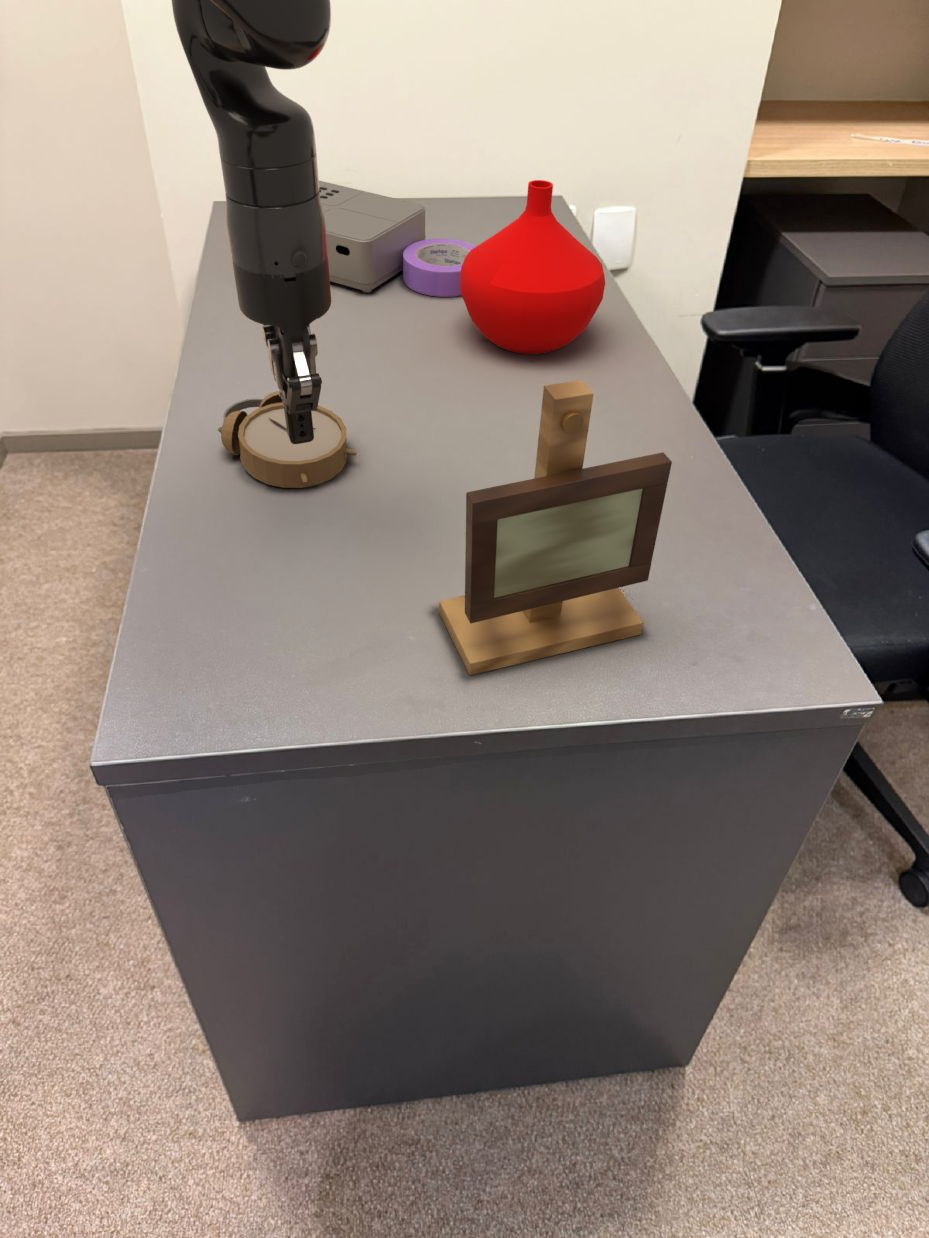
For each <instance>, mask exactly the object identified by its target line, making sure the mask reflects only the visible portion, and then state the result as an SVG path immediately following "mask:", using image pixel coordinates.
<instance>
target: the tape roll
mask: <svg viewBox="0 0 929 1238" xmlns="http://www.w3.org/2000/svg"><path fill="white" fill-rule="evenodd" d="M476 246H477V245H475V244H472V243H470V242H467V241H464V240H461V239H453V238H429V239H428V238H427V239H425V240H422V241H418V242H415V243H413V244H411V245H409V246H408V247H407V248H406V249H405V250H404V252H403V270H402V279H403V283H404V284H405V286H406V287H408V288H409V289H410V290H412V291H413V292H414V291H415V292H416V293H418V294H422V295H425V296H430V297H437V298H455V297H462V294H461V292H460V273H461V267H462V264H463V262H464V259H465V257H466V255H467V254H468V253H469V252H470V251H471V250H472V249H473V248H475V247H476Z"/></svg>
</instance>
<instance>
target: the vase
mask: <svg viewBox="0 0 929 1238" xmlns="http://www.w3.org/2000/svg"><path fill="white" fill-rule="evenodd" d="M553 190H554V184H553V183H552V182H551V181H548V180H545V179H544V180H543V179H535V180H530V181H529V182H528V183H527V193H526V195H527V196H526V204H525V209H524V210H523V212H522V213H521V214H520V215H519V217H517V218H516V219H515V220H513V221H512V222H510V223H508V225H506V226H504V227H503V228H502V229H500V230H499V231H498V232H496V233H495V234H493V235H492V236H490V237H488V238H487V239H485V240H484V241H483V242H481V243H479V244H478V245H475V246H476V247H475V248H473V249H472V250H471V251H470V252H469V253H468V254H467V255H466V257H465V259H464V262H463V264H462V267H461V273H460V292H461V294H462V296H461V297H462V299H463V302H464V305H465V307H466V311H467V313H468V315H469V318H470V319H471V321H472V323H473V324H474V325H475V327H476V328H477V329H478V331H479V332H480V333H481V334H482V335H483V336H484V337H485V338H486V339H487V340H489V341H490V342H491V343H493V344H494V345H496V346H497V347H499V348H501V349H503V350H506V351H509V352H512V353H517V354H523V355H540V354H547V353H552V352H554V351H556V350H558V349H561V348H563V347H564V346H566V345H568V344H570V343H571V342H572V341H574V340H575V339H576V338H577V337H578V336H580V334H581V333H583V331H584V330H585V329H587V327H588V326H589V324H590V322H591V321H592V319H593V318H594V316H595V314H596V312H597V311H598V309H599V307H600V305H601V303H602V301H603V299H604V294H605V288H606V277H605V272H604V268H603V263H602V262H601V261H600V260H599V258H598V257H597V255H595V254H594V253H593V252H592V251H591V250H589V248H587V247H586V246H585V245H584V244H583V243H581V242H580V241H579V240H578V239H577V238H576V237H575V236H573V235H572V233H571V232H569V230H567V229H566V228H565V227H564V226H563V225H562V224H561V223H560V222H559V221H558V220H557V218H556V217H555V215H554V213H553V211H552V201H553Z"/></svg>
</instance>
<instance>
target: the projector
mask: <svg viewBox="0 0 929 1238" xmlns="http://www.w3.org/2000/svg"><path fill="white" fill-rule="evenodd" d="M319 191H320V198H321V203H322V208H323V212H324V218H325V225H326V238H327V251H328V264H329V277H330V283H331V282H332V283H335V284H339V285H342V286H346V287H349V288H353V289H357V290H360V291H362V293H365V294H369V293H371V292H372V291H373V290H374V289H376V288H377V287H379V286H381V285H382V284H383V283H385V282H387V281H389V279H391V278H393V277H394V276H396V275H397V274H399V273H400V272H401V271H402V272H403V252H404V250H405V249H406V248H407V247H408V246H409V245H411V244H413V243H415V242H418V241H422V240H426V207H425V206H424V205H422V204H421V203H416V202H412V201H407V200H404V199H399V198H395V197H392V196H387V195H383V194H379V193H374V192H370V191H366V190H361V189H357V188H353V187H349V186H344V185H340V184H335V183H333V182H332V183H331V182H327V181H323V180H319Z"/></svg>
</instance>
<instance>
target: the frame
mask: <svg viewBox="0 0 929 1238" xmlns="http://www.w3.org/2000/svg"><path fill="white" fill-rule="evenodd" d="M672 463H673V462H672V460H671V459H670V458H669V457H668V456H667V454H665V452H664V451H663V452H658V453H652V454H648V455H643V456H637V457H632V458H629V459H623V460H618V461H614V462H608V463H604V464H598V465H594V466H589V467H583V469H579V470H574V471H569V472H564V473H559V474H554V475H549V476H544V477H539V478H534V477H533V478H530V479H525V480H520V481H515V482H509V483H505V484H500V485H495V486H491V487H486V488H481V489H476V490H470V491H466V493H465V494H466V495H465V497H466V498H465V499H466V500H465V554H464V555H465V559H464V560H465V561H464V563H465V565H464V574H465V575H464V596H465V614H466V616H467V618H468V620H469V622H470V623H475V622H479V621H483V620H487V619H492V618H496V617H500V616H504V615H508V614H512V613H516V612H520V611H524V610H529V609H533V608H537V607H541V606H545V605H549V604H553V603H557V602H562V601H566V600H570V599H574V598H578V597H582V596H586V595H590V594H595V593H599V592H603V591H607V590H611V589H615V588H619V589H620V588H623V587H627V586H632V585H634V584H639V583H643V582H648V581H649V577H650V572H651V568H652V563H653V562H652V561H653V556H654V552H655V548H656V542H657V538H658V532H659V527H660V522H661V518H662V513H663V507H664V504H665V503H664V502H665V497H666V493H667V488H668V483H669V479H670V473H671V469H672Z"/></svg>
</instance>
